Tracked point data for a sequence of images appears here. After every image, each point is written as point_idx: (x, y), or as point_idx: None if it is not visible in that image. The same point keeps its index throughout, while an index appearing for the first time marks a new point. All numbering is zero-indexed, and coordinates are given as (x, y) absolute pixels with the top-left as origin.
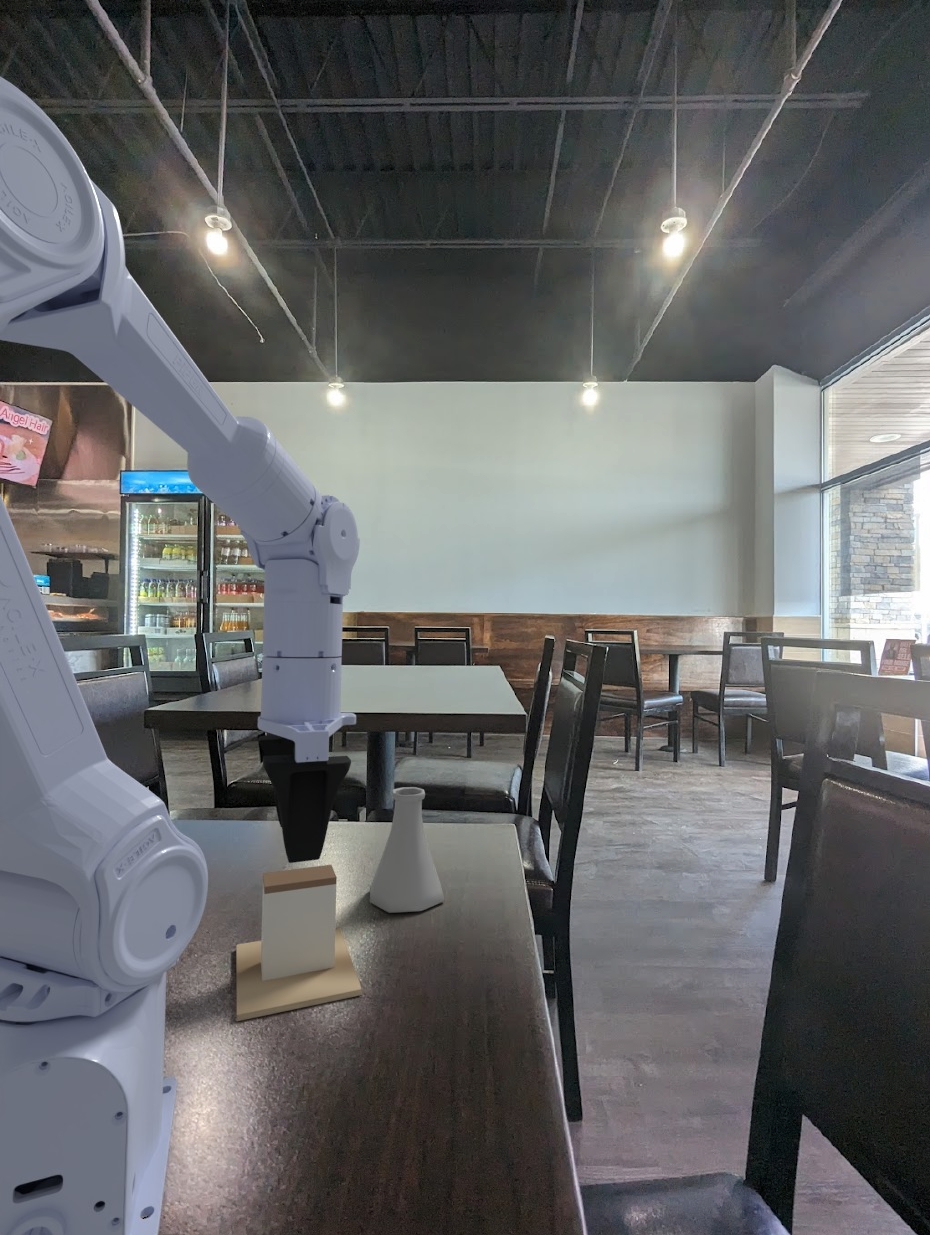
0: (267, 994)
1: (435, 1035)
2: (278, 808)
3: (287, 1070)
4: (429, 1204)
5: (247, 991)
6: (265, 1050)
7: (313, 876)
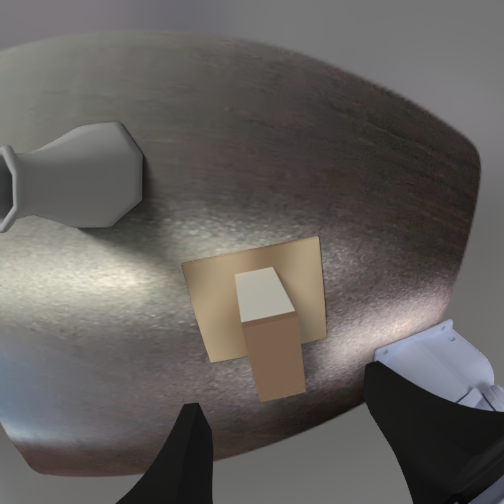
0: (305, 322)
1: (382, 174)
2: (211, 457)
3: (385, 288)
4: (470, 207)
5: None
6: (362, 307)
7: (286, 347)
